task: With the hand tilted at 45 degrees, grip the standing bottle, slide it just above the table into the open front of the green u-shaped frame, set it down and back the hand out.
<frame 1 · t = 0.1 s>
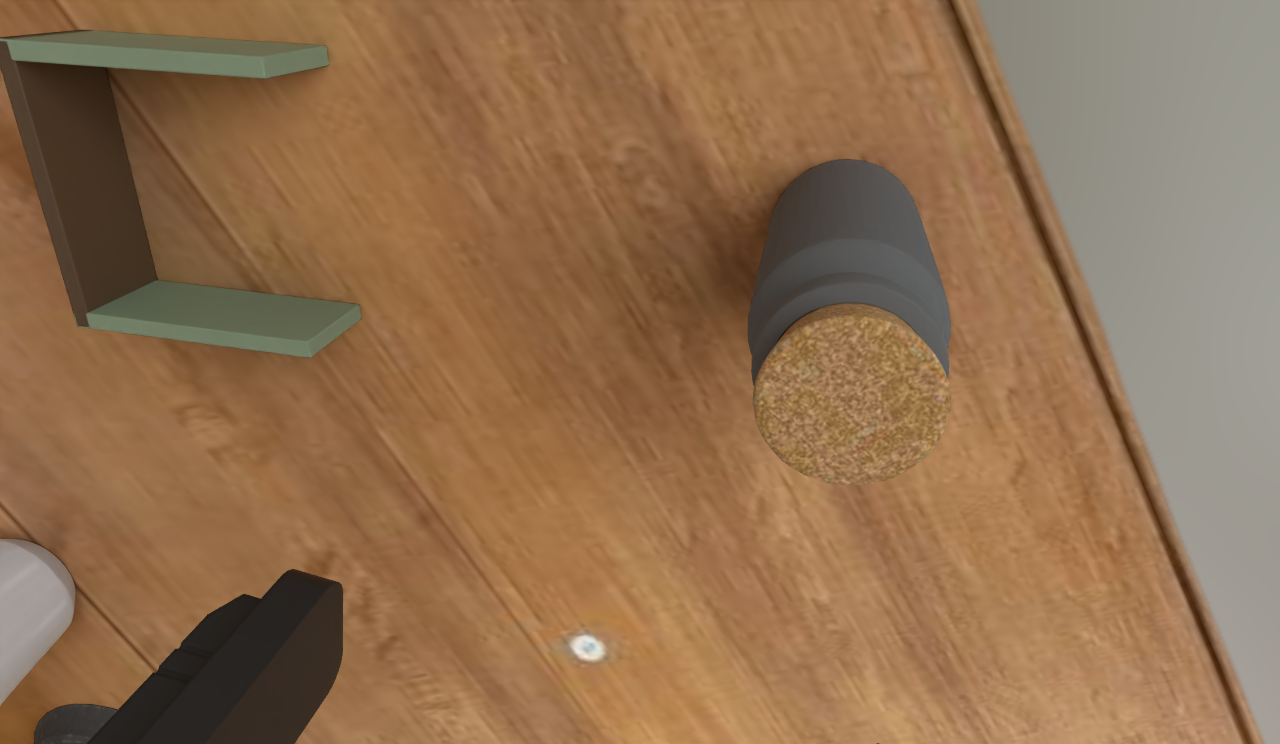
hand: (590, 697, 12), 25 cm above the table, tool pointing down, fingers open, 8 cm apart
mug: (28, 580, 55), on the table
green u-shaped frame: (236, 182, 38), on the table
bottle: (842, 229, 34), on the table
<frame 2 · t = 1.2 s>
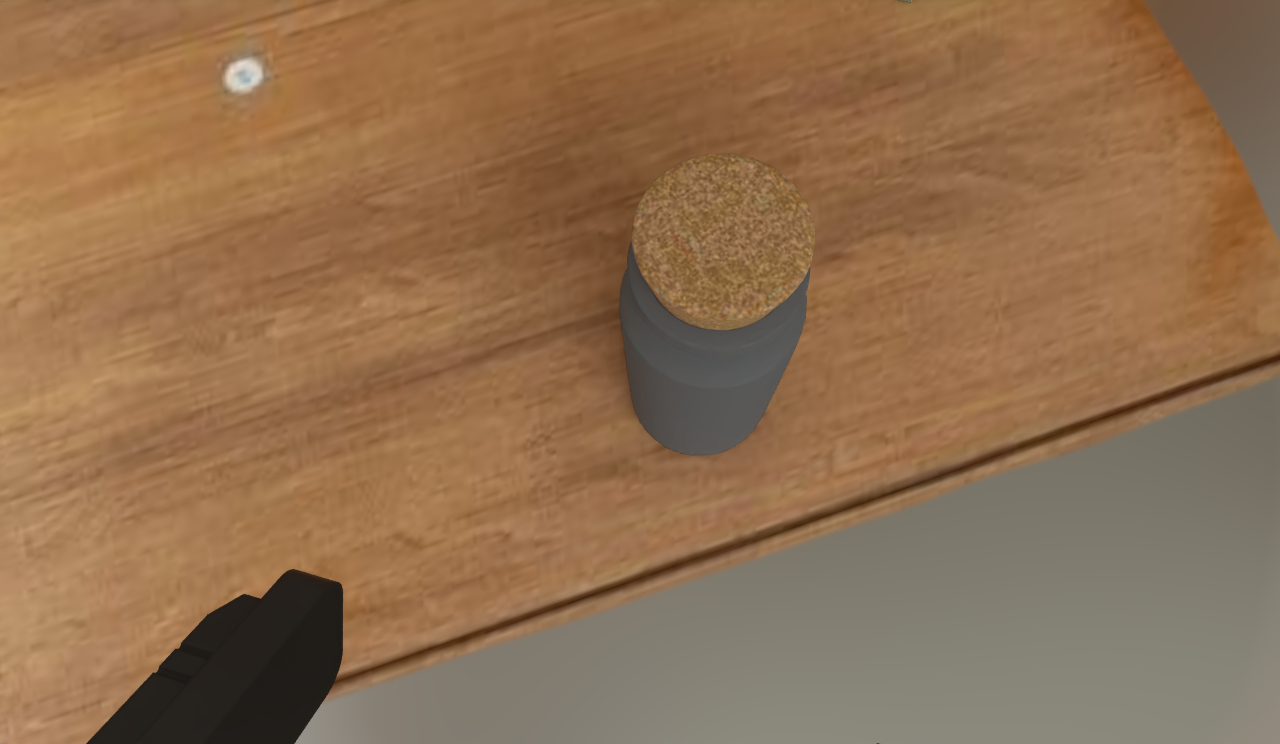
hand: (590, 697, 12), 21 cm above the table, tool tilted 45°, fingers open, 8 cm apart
bottle: (698, 391, 36), on the table
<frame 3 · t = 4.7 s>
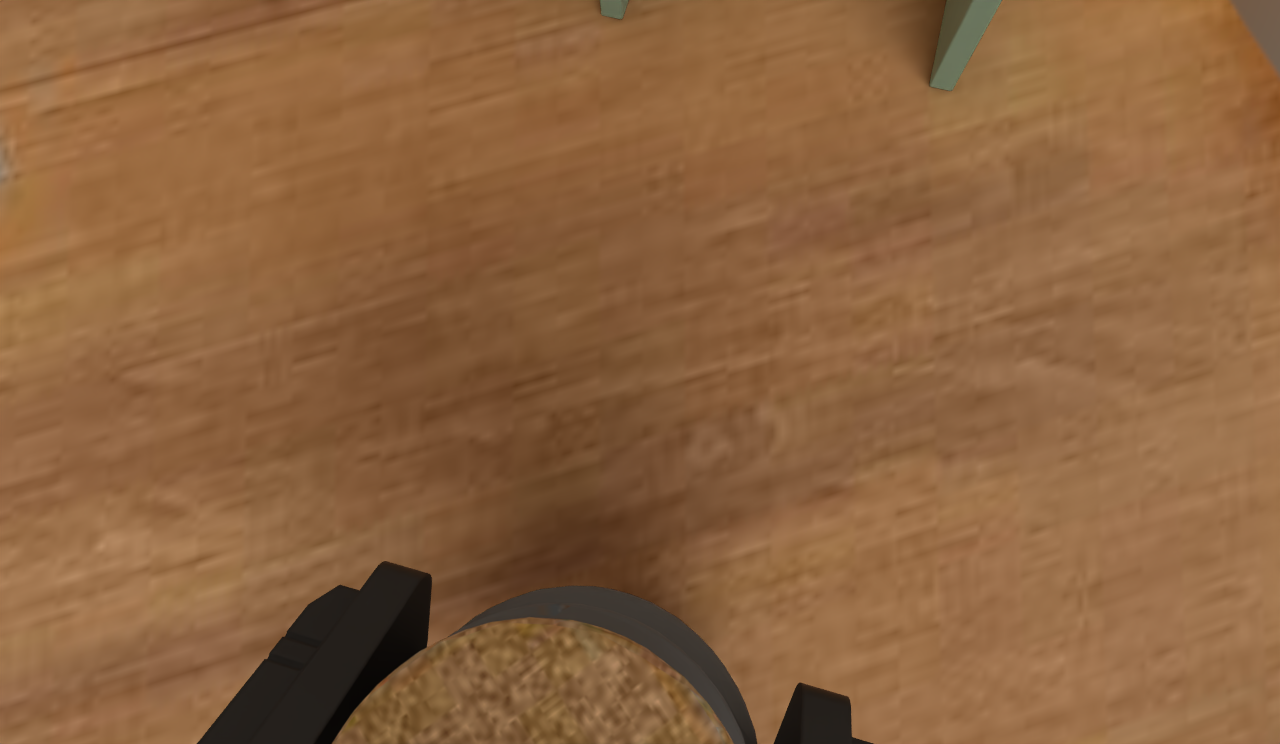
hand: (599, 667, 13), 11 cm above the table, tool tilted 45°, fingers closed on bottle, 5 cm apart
bottle: (608, 714, 23), on the table, touching gripper
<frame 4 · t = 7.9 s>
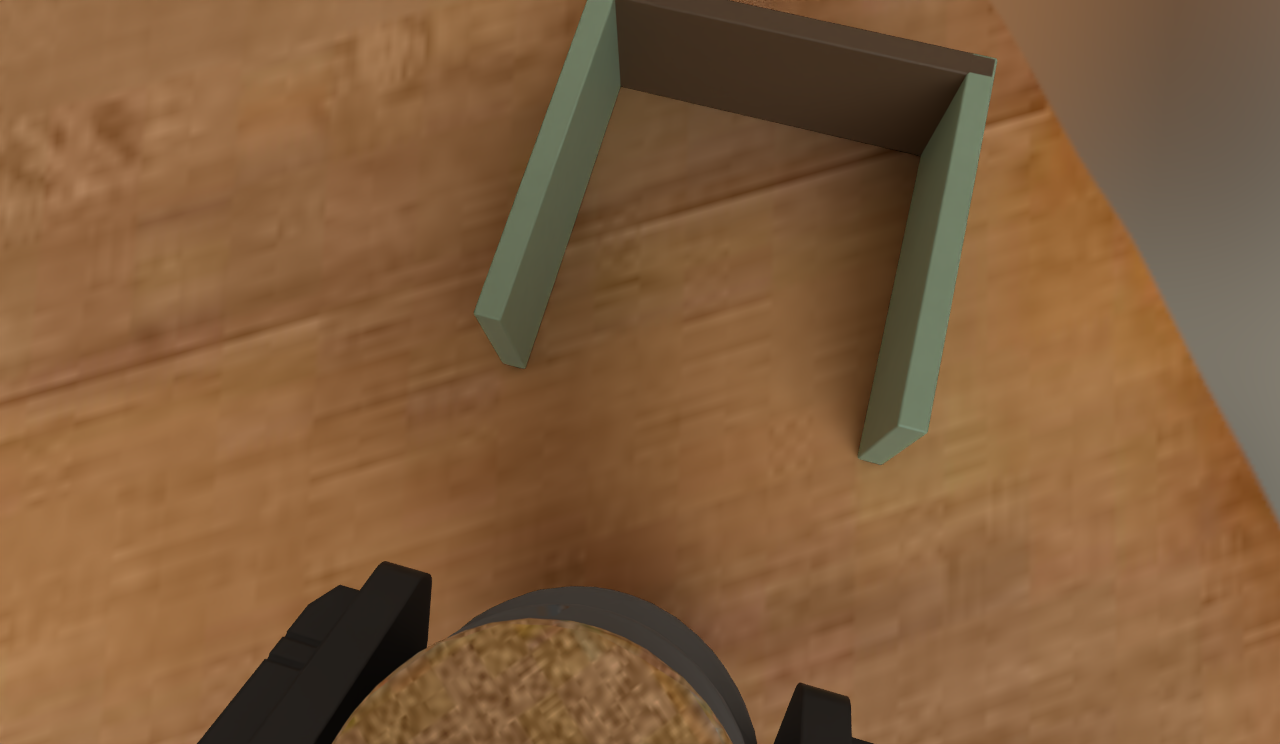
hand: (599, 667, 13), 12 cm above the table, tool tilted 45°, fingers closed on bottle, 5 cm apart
green u-shaped frame: (729, 259, 28), on the table
bottle: (608, 714, 23), point 1 cm above the table, touching gripper
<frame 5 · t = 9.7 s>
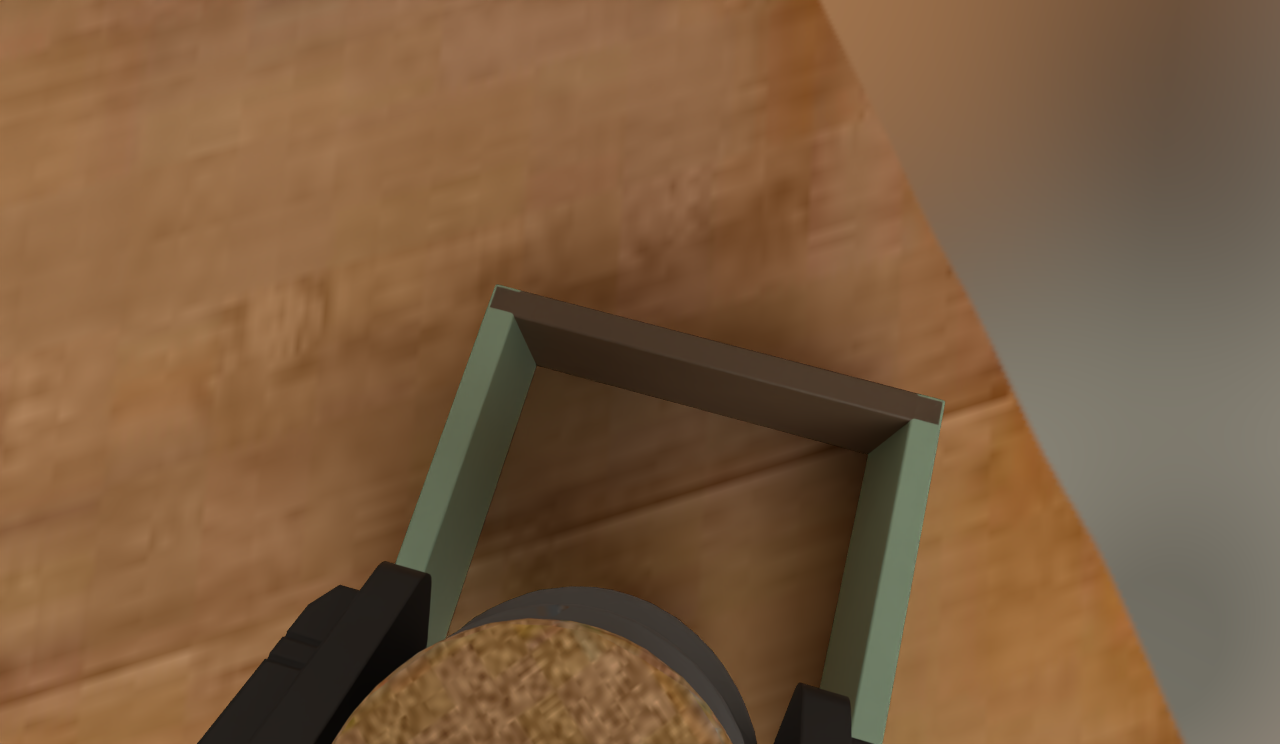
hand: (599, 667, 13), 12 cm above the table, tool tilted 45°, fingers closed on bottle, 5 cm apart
green u-shaped frame: (652, 581, 25), on the table
bottle: (608, 714, 23), point 1 cm above the table, touching gripper
when the fingers open (11 cm above the table, at t = 11.1 s): bottle stays where it is, on the table.
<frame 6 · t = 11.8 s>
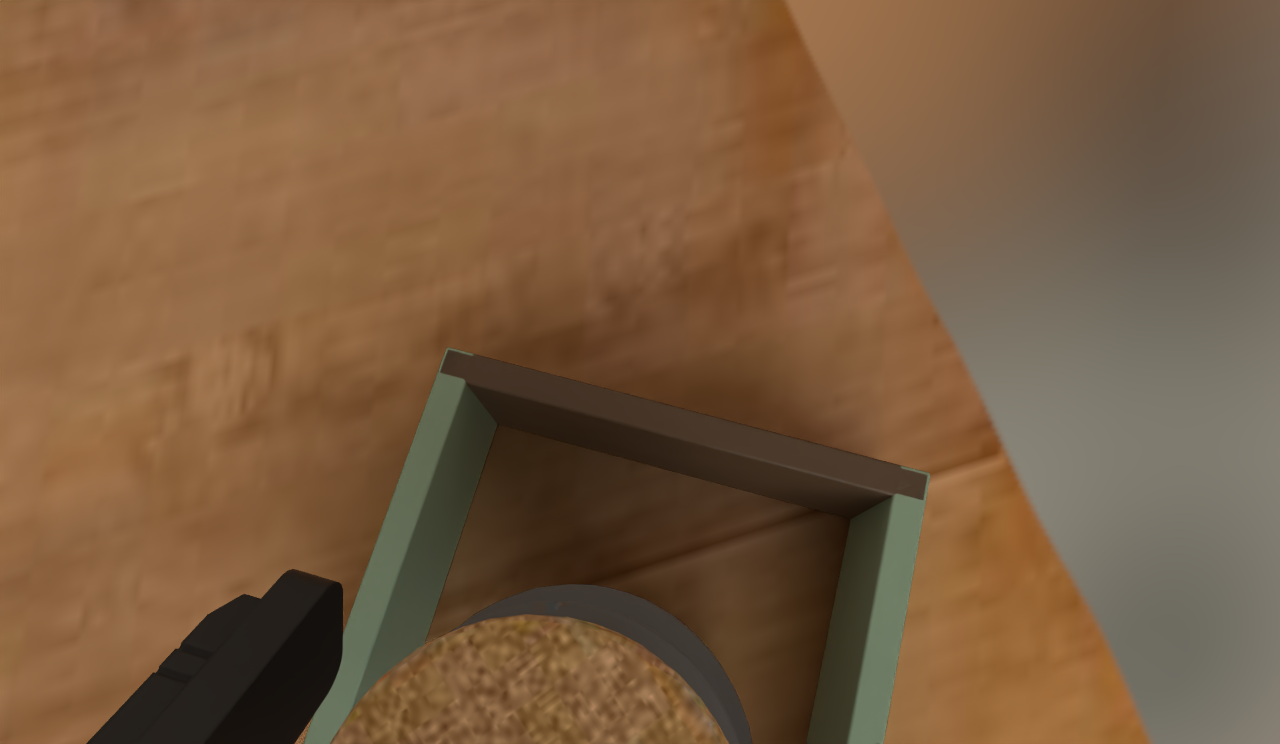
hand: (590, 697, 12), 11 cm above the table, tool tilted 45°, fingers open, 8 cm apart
green u-shaped frame: (620, 660, 23), on the table
bottle: (606, 711, 23), on the table
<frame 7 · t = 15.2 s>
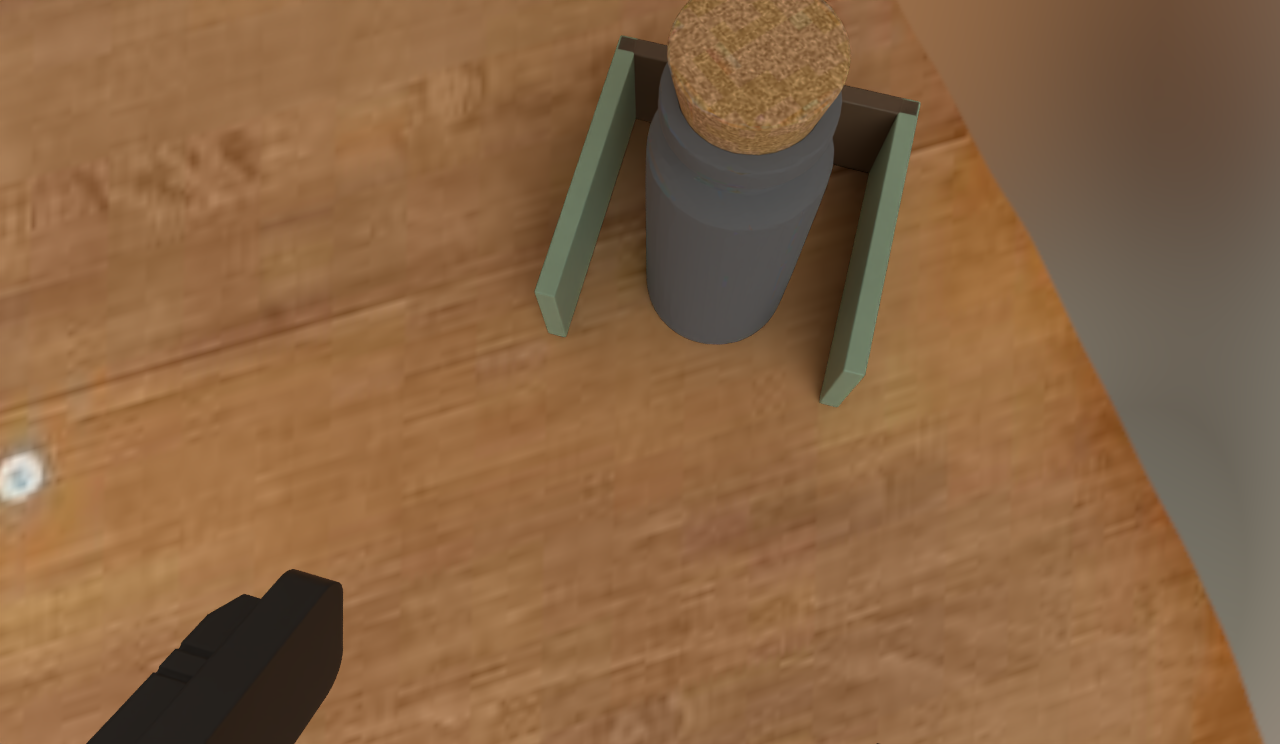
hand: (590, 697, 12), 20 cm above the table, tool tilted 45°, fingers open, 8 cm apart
green u-shaped frame: (722, 253, 36), on the table
bottle: (714, 283, 36), on the table
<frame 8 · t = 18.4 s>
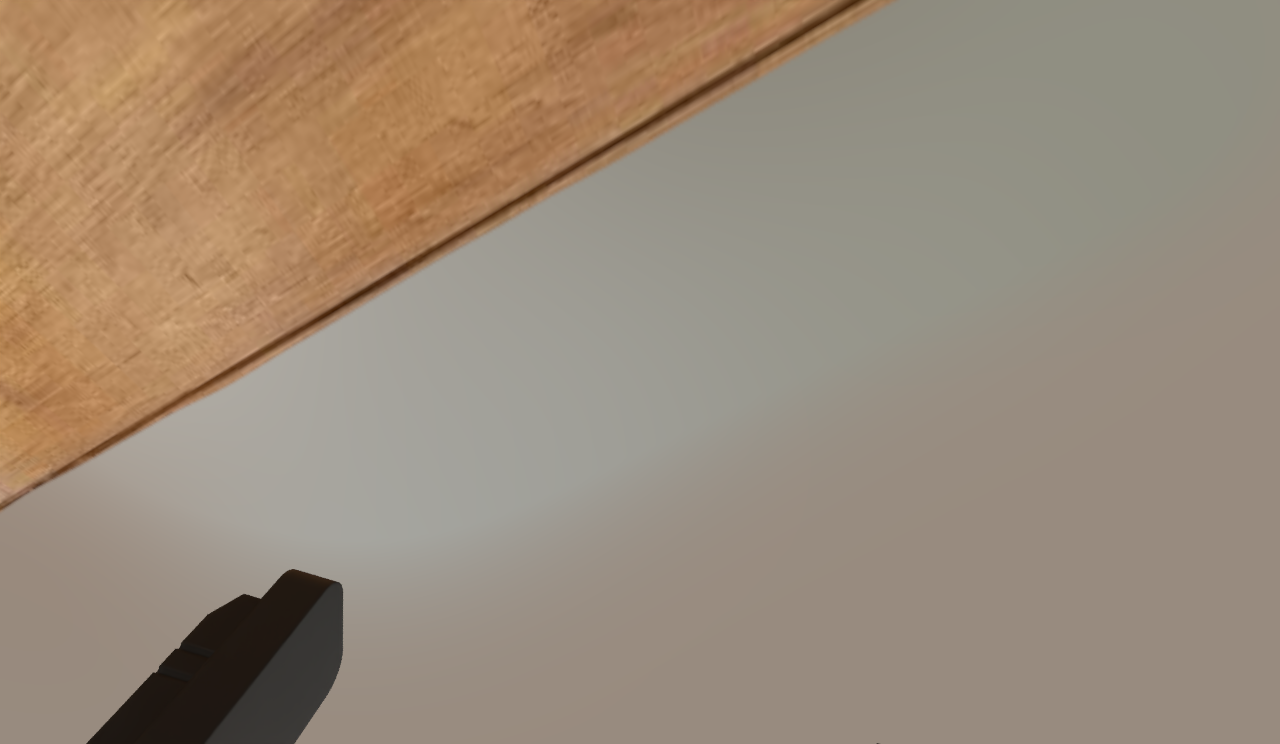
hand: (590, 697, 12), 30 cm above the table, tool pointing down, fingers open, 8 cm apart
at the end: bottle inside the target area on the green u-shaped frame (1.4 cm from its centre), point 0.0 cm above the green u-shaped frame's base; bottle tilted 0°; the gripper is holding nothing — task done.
